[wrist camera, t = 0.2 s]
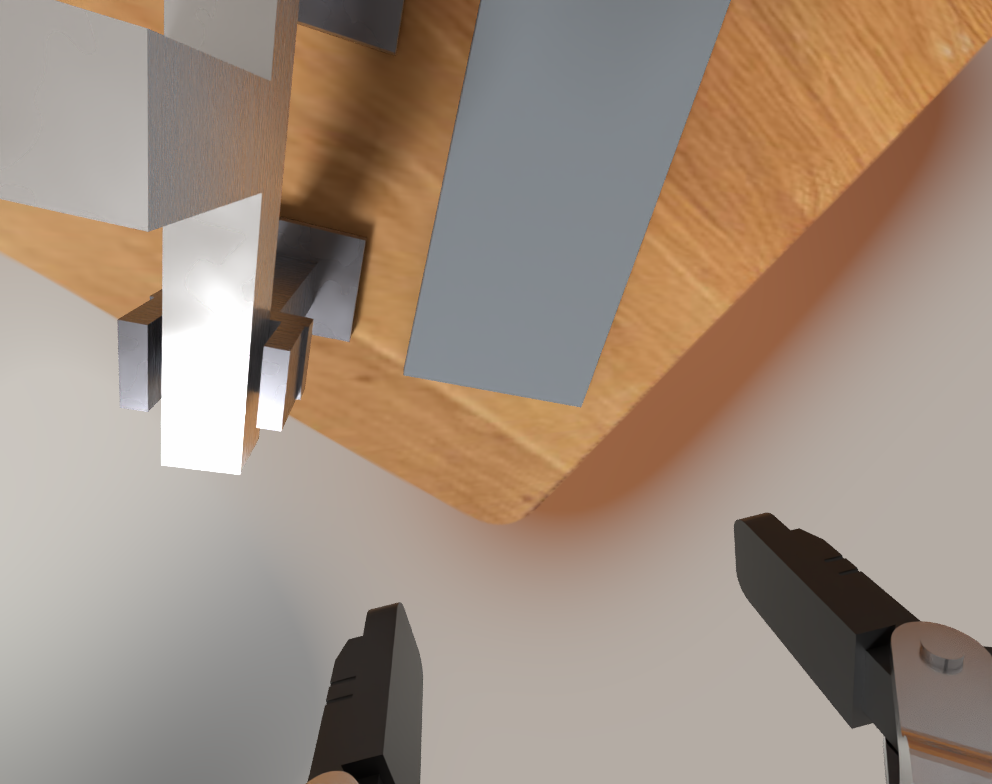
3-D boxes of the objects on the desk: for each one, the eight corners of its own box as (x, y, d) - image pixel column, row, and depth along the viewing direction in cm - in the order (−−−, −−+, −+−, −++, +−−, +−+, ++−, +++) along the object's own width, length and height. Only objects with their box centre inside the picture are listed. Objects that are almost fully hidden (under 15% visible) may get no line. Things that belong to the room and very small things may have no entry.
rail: (216, -435, 11) (-373, -2156, 3) (333, -375, 12) (138, -1650, 3) (189, 428, 20) (23, 641, 11) (258, 438, 20) (150, 648, 12)
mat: (502, -106, 24) (506, -116, 23) (726, -12, 26) (736, -17, 26) (403, 368, 33) (403, 375, 32) (576, 400, 36) (581, 407, 35)
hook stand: (254, -162, 22) (20, -610, 9) (419, -96, 23) (428, -390, 10) (227, 311, 30) (84, 442, 17) (351, 336, 31) (308, 471, 19)
